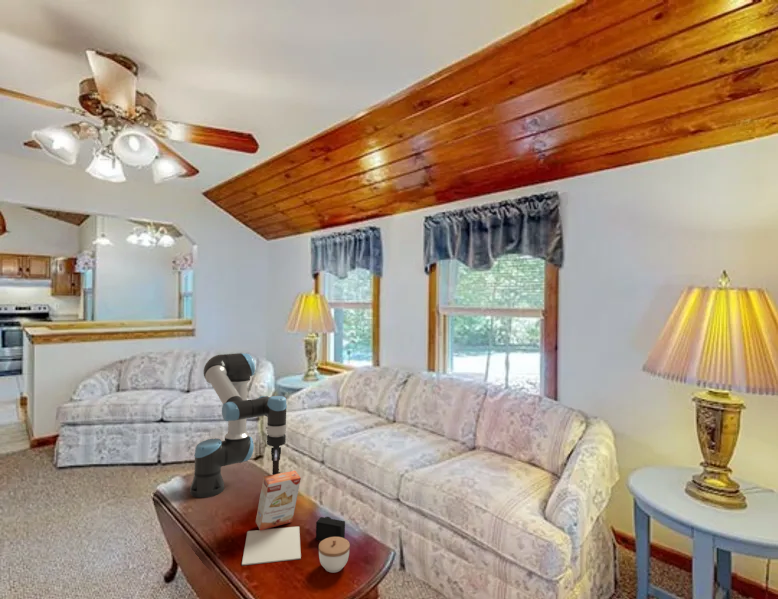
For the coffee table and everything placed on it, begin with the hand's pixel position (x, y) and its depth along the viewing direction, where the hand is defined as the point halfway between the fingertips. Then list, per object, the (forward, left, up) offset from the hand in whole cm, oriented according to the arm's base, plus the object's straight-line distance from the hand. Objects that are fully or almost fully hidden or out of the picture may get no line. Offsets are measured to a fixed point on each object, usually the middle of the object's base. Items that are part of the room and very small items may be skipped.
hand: (275, 491), depth 179 cm
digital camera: (+17, +22, -13) cm, 30 cm away
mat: (+17, 0, -13) cm, 21 cm away
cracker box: (+2, 0, -12) cm, 12 cm away
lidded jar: (+35, +21, -13) cm, 43 cm away
